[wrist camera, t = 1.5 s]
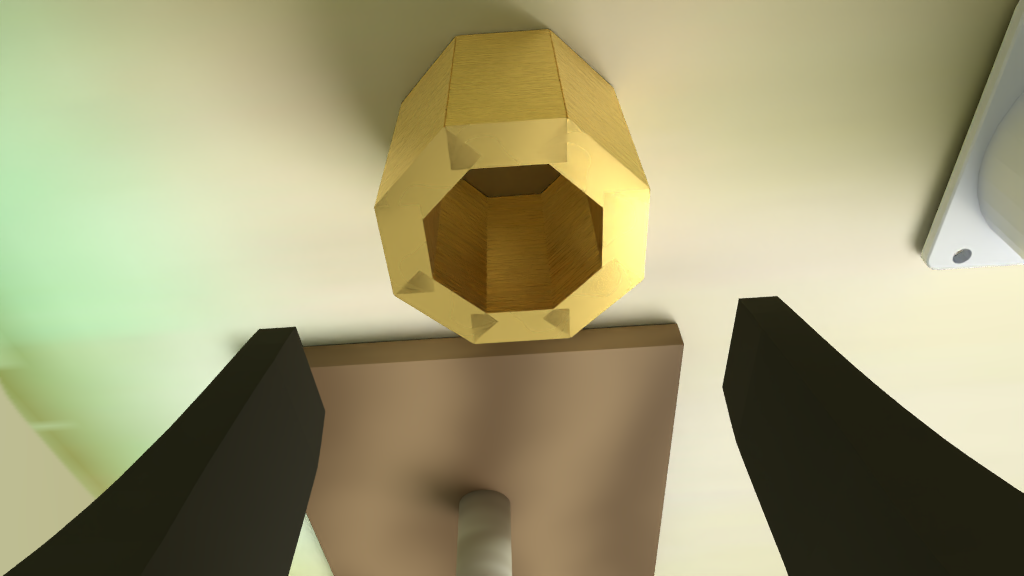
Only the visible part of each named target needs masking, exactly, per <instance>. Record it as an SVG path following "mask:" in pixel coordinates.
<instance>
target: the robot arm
mask: <svg viewBox="0 0 1024 576" xmlns="http://www.w3.org/2000/svg"><path fill="white" fill-rule="evenodd" d="M960 250H962V251H961V252H960V253H958V254H957V255H955V253H957V252H958V251H960ZM921 258H922V260H923V261H924V263H925V264H926V265H927V266H928V267H929V268H931V269H934V270H945V269H961V268H977V267H992V266H1008V265H1024V0H1020V1H1019V2H1018V4H1017V6H1016V8H1015V10H1014V13H1013V16H1012V18H1011V21H1010V23H1009V26H1008V29H1007V31H1006V34H1005V37H1004V39H1003V42H1002V44H1001V47H1000V50H999V52H998V55H997V57H996V60H995V63H994V65H993V68H992V70H991V73H990V76H989V78H988V81H987V83H986V86H985V89H984V91H983V94H982V96H981V99H980V102H979V104H978V107H977V109H976V112H975V115H974V117H973V120H972V122H971V125H970V128H969V130H968V133H967V135H966V138H965V141H964V143H963V146H962V148H961V151H960V154H959V156H958V159H957V161H956V164H955V167H954V169H953V172H952V174H951V177H950V180H949V182H948V185H947V187H946V190H945V193H944V195H943V198H942V200H941V203H940V206H939V208H938V211H937V213H936V216H935V219H934V221H933V224H932V226H931V229H930V232H929V234H928V237H927V239H926V242H925V245H924V247H923V250H922V254H921ZM722 387H723V391H724V396H725V400H726V404H727V408H728V412H729V416H730V420H731V424H732V428H733V432H734V435H735V439H736V443H737V445H738V448H739V451H740V453H741V456H742V459H743V461H744V464H745V466H746V469H747V472H748V474H749V477H750V479H751V482H752V484H753V487H754V489H755V492H756V494H757V497H758V499H759V502H760V505H761V507H762V510H763V512H764V515H765V517H766V520H767V522H768V525H769V527H770V530H771V532H772V535H773V537H774V540H775V542H776V545H777V547H778V550H779V552H780V555H781V557H782V560H783V562H784V565H785V567H786V570H787V573H788V576H1024V493H1022V492H1021V491H1019V490H1018V489H1016V488H1015V487H1013V486H1012V485H1010V484H1009V483H1007V482H1006V481H1004V480H1003V479H1001V478H1000V477H998V476H997V475H995V474H994V473H992V472H991V471H989V470H988V469H986V468H985V467H984V466H982V465H981V464H979V463H978V462H976V461H975V460H973V459H972V458H970V457H969V456H967V455H966V454H965V453H963V452H962V451H960V450H959V449H958V448H956V447H955V446H953V445H952V444H951V443H949V442H948V441H947V440H945V439H944V438H942V437H941V436H940V435H939V434H937V433H936V432H935V431H933V430H932V429H931V428H929V427H928V426H927V425H926V424H924V423H923V422H922V421H920V420H919V419H918V418H917V417H915V416H914V415H913V414H911V413H910V412H909V411H907V410H906V409H905V408H904V407H902V406H901V405H900V404H899V403H897V402H896V401H895V400H894V399H893V398H891V397H890V396H889V395H888V394H886V393H885V392H884V391H883V390H882V389H880V388H879V387H878V386H877V385H876V384H874V383H873V382H872V381H871V380H870V379H869V378H867V377H866V376H865V375H864V374H863V373H862V372H861V371H859V370H858V369H857V368H856V367H855V366H854V365H852V364H851V363H850V362H849V361H848V360H847V359H846V358H845V357H843V356H842V355H841V354H840V353H839V352H838V351H837V350H836V349H835V348H833V347H832V346H831V345H830V344H829V343H828V342H827V341H826V340H825V339H823V338H822V337H821V336H820V335H819V334H818V333H817V332H816V331H815V330H814V329H813V328H811V327H810V326H809V325H808V324H807V323H806V322H805V321H804V320H803V319H802V318H801V317H800V316H798V315H797V314H796V313H795V312H794V311H793V310H792V309H791V308H790V307H789V306H788V305H787V304H785V303H784V302H783V301H782V300H781V299H780V298H779V297H778V296H773V297H757V298H742V299H739V301H738V307H737V312H736V317H735V323H734V328H733V333H732V339H731V344H730V349H729V354H728V360H727V365H726V370H725V376H724V381H723V386H722ZM324 419H325V408H324V406H323V403H322V400H321V397H320V394H319V391H318V389H317V386H316V383H315V380H314V377H313V374H312V372H311V369H310V366H309V363H308V360H307V357H306V355H305V352H304V349H303V346H302V343H301V340H300V338H299V335H298V332H297V329H296V327H286V328H271V329H259V330H258V331H257V332H256V333H255V334H254V335H253V336H252V337H251V338H250V339H249V341H248V342H247V343H246V344H245V345H244V346H243V347H242V348H241V349H240V351H239V352H238V353H237V354H236V355H235V356H234V357H233V358H232V360H231V361H230V362H229V363H228V364H227V365H226V366H225V367H224V369H223V370H222V371H221V372H220V373H219V374H218V375H217V376H216V377H215V379H214V380H213V381H212V382H211V383H210V384H209V385H208V386H207V388H206V389H205V390H204V391H203V392H202V393H201V394H200V395H199V396H198V398H197V399H196V400H195V401H194V402H193V403H192V404H191V405H190V406H189V407H188V408H187V409H186V410H185V412H184V413H183V414H182V415H181V416H180V417H179V418H178V419H177V420H176V421H175V422H174V423H173V425H172V426H171V427H170V428H169V429H168V430H167V431H166V432H165V433H164V434H163V435H162V436H161V437H160V438H159V439H158V440H157V441H156V442H155V443H154V444H153V445H152V446H151V447H150V448H149V449H148V450H147V451H146V452H145V453H144V454H143V455H142V456H141V457H140V458H139V459H138V460H137V461H136V462H135V463H134V464H133V465H132V466H131V467H130V468H129V469H128V470H127V471H126V472H125V473H124V474H123V475H122V476H121V477H120V478H119V479H118V480H116V481H115V482H114V483H113V484H112V485H111V486H110V487H109V488H108V489H107V490H106V491H105V492H104V493H102V494H101V495H100V496H99V497H98V498H97V499H96V500H95V501H94V502H92V504H90V505H89V506H88V507H87V508H86V509H85V510H83V511H82V512H81V513H80V514H79V515H78V516H76V517H75V518H74V519H73V520H72V521H71V522H69V523H68V524H67V525H66V526H65V527H64V528H63V529H61V530H60V531H59V532H58V533H57V534H56V535H54V536H53V537H52V538H51V539H49V540H48V541H47V542H46V543H45V544H43V545H42V546H41V547H40V548H38V549H37V550H36V551H34V552H33V553H32V554H31V555H29V556H28V557H27V558H25V559H24V560H23V561H21V562H20V563H19V564H18V565H16V566H15V567H14V568H12V569H11V570H10V571H8V572H7V573H6V574H5V575H3V576H288V574H289V571H290V567H291V564H292V560H293V556H294V553H295V549H296V546H297V542H298V538H299V535H300V531H301V528H302V524H303V520H304V517H305V513H306V509H307V506H308V502H309V498H310V495H311V491H312V487H313V484H314V480H315V476H316V472H317V468H318V462H319V455H320V449H321V442H322V434H323V427H324Z"/></svg>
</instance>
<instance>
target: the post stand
mask: <svg viewBox="0 0 1024 576" xmlns="http://www.w3.org/2000/svg"><path fill="white" fill-rule="evenodd" d="M683 347H684V343H683V340H682V337H681V334H680V331H679V328H678V325H677V324H662V325H646V326H630V327H614V328H598V329H582V330H580V331H579V332H578V333H576V334H575V335H574V336H573V337H570V338H562V339H546V340H530V341H514V342H498V343H482V344H474V343H471V342H470V341H468V340H466V339H465V338H463V337H454V338H438V339H422V340H406V341H390V342H374V343H358V344H342V345H326V346H310V347H303V349H304V352H305V355H306V357H307V360H308V363H309V366H310V369H311V372H312V374H313V377H314V380H315V383H316V386H317V389H318V391H319V394H320V397H321V400H322V403H323V406H324V408H325V419H324V427H323V434H322V442H321V449H320V455H319V462H318V468H317V472H316V476H315V480H314V484H313V487H312V491H311V495H310V498H309V502H308V506H307V509H306V513H307V516H308V518H309V520H310V523H311V525H312V527H313V529H314V532H315V534H316V536H317V538H318V541H319V543H320V545H321V547H322V550H323V552H324V554H325V557H326V559H327V561H328V563H329V566H330V568H331V570H332V572H333V575H334V576H654V572H655V564H656V556H657V549H658V541H659V533H660V526H661V518H662V510H663V502H664V495H665V487H666V479H667V471H668V464H669V456H670V448H671V440H672V433H673V425H674V417H675V409H676V402H677V394H678V386H679V378H680V371H681V363H682V355H683Z"/></svg>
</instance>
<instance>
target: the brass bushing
mask: <svg viewBox="0 0 1024 576" xmlns="http://www.w3.org/2000/svg"><path fill="white" fill-rule="evenodd" d="M537 164H550V165H551V166H552V167H553V168H555V169H556V170H557V171H558V172H559V173H561V175H560V176H559V177H558V178H557V179H556V180H555V181H554V182H553V183H552V184H551V185H550V186H549V187H548V188H547V189H545V190H544V191H543V192H542V193H541V194H533V195H518V196H503V197H486V196H485V195H484V194H482V193H481V192H480V191H478V190H477V189H476V188H474V187H473V186H472V185H470V184H469V183H467V182H466V181H465V180H463V179H462V177H463V176H464V175H465V174H466V173H467V172H468V170H469V169H478V168H493V167H508V166H522V165H537ZM649 197H650V188H649V185H648V182H647V179H646V176H645V174H644V171H643V168H642V165H641V163H640V160H639V157H638V154H637V152H636V149H635V146H634V143H633V140H632V138H631V135H630V132H629V129H628V127H627V124H626V121H625V118H624V116H623V113H622V110H621V107H620V105H619V102H618V99H617V96H616V93H615V91H614V88H613V87H612V86H611V85H610V84H609V83H608V82H606V81H605V80H604V79H603V78H602V77H601V76H600V75H599V74H598V73H597V72H596V71H595V70H593V69H592V68H591V67H590V66H589V65H588V64H587V63H586V62H585V61H584V60H583V59H582V58H580V57H579V56H578V55H577V54H576V53H575V52H574V51H573V50H572V49H571V48H570V47H569V46H567V45H566V44H565V43H564V42H563V41H562V40H561V39H560V38H559V37H558V36H557V35H555V34H554V33H553V32H552V31H551V30H549V29H542V30H529V31H515V32H501V33H487V34H473V35H460V36H457V37H456V36H455V38H454V39H453V40H452V41H451V43H450V44H449V45H448V46H447V48H446V49H445V50H444V51H443V52H442V54H441V55H440V56H439V57H438V59H437V60H436V61H435V62H434V64H433V65H432V66H431V67H430V69H429V70H428V71H427V72H426V73H425V75H424V76H423V77H422V78H421V80H420V81H419V82H418V83H417V85H416V86H415V87H414V88H413V89H412V91H411V92H410V93H409V94H408V96H407V97H406V98H405V99H404V101H403V102H402V104H401V107H400V111H399V115H398V119H397V123H396V126H395V130H394V134H393V138H392V142H391V145H390V149H389V153H388V157H387V161H386V165H385V168H384V172H383V176H382V180H381V184H380V187H379V191H378V195H377V199H376V203H375V207H374V209H375V213H376V218H377V222H378V227H379V231H380V236H381V240H382V245H383V249H384V254H385V258H386V263H387V267H388V272H389V276H390V281H391V285H392V290H393V294H394V296H396V297H397V298H399V299H401V300H402V301H404V302H406V303H407V304H409V305H411V306H412V307H414V308H416V309H417V310H419V311H420V312H422V313H424V314H425V315H427V316H429V317H430V318H432V319H434V320H435V321H437V322H438V323H440V324H442V325H443V326H445V327H447V328H448V329H450V330H452V331H453V332H455V333H457V334H458V335H460V336H461V337H463V338H465V339H466V340H468V341H470V342H471V343H474V344H482V343H498V342H514V341H530V340H546V339H562V338H570V337H573V336H574V335H575V334H576V333H578V332H579V331H580V330H581V329H582V328H584V327H585V326H586V325H587V324H589V323H590V322H591V321H592V320H594V319H595V318H596V317H597V316H599V315H600V314H601V313H602V312H604V311H605V310H606V309H607V308H609V307H610V306H611V305H612V304H613V303H615V302H616V301H617V300H618V299H620V298H621V297H622V296H623V295H625V294H626V293H627V292H628V291H630V290H631V289H632V288H633V287H635V286H636V285H637V284H638V283H640V282H641V281H642V280H643V279H644V266H645V253H646V239H647V225H648V211H649Z"/></svg>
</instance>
